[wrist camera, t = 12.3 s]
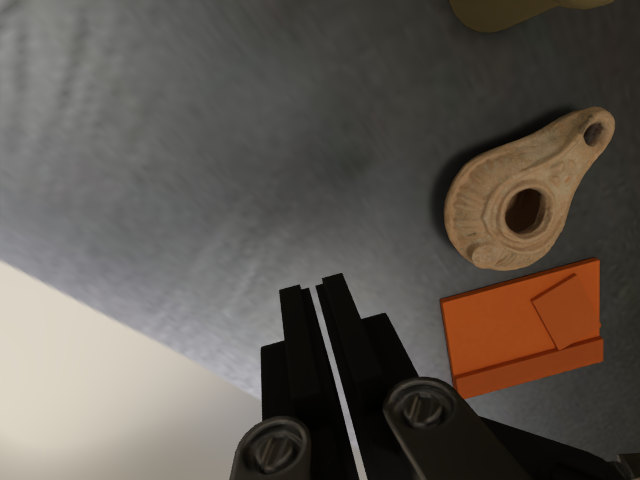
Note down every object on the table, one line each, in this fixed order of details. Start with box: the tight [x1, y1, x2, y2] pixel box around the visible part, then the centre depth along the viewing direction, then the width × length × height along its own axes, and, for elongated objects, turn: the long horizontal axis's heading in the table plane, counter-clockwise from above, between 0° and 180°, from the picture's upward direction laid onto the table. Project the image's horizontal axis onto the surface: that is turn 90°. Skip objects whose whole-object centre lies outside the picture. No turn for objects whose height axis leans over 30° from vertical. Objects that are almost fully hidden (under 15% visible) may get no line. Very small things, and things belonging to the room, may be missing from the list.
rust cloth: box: [440, 257, 603, 399], centre depth 37 cm, size 13×10×1 cm
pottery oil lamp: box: [444, 107, 615, 271], centre depth 30 cm, size 9×12×7 cm
